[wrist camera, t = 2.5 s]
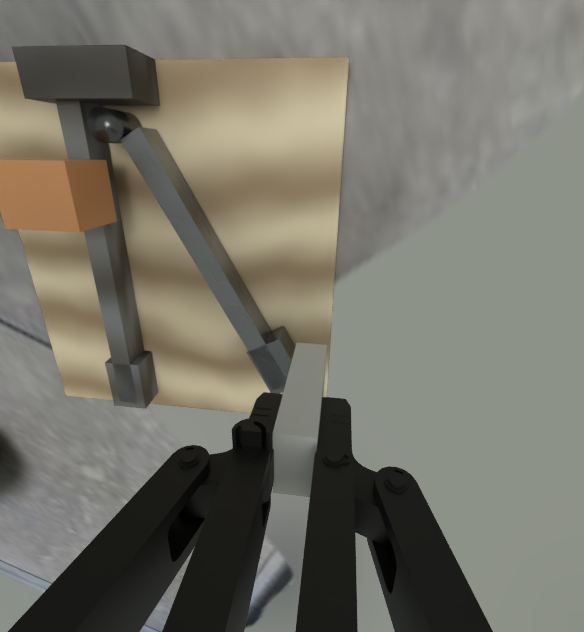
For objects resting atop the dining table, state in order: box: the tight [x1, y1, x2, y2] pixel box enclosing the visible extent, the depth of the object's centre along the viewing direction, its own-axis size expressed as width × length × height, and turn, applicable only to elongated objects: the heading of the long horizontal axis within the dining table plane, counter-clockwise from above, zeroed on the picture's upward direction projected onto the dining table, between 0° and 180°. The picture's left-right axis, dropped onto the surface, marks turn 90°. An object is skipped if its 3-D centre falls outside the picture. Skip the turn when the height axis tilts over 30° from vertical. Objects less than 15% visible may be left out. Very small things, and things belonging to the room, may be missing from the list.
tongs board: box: [0, 45, 349, 414], centre depth 29 cm, size 28×26×5 cm
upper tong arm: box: [88, 107, 295, 394], centre depth 27 cm, size 24×4×3 cm, turn 27°
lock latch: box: [0, 158, 117, 232], centre depth 23 cm, size 4×5×4 cm
